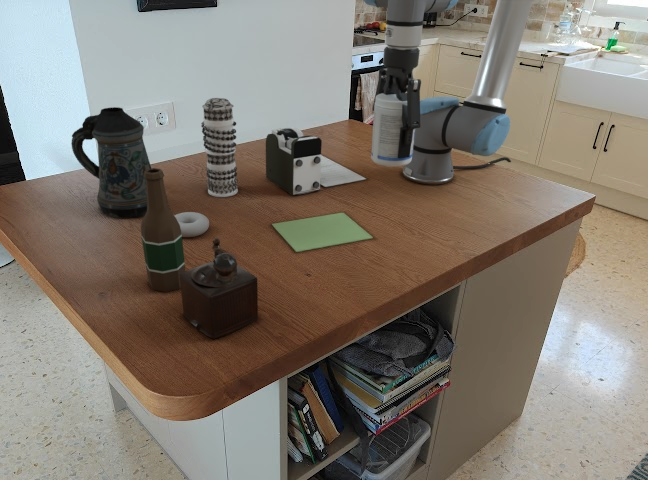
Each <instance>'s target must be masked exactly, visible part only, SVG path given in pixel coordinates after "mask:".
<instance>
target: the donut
mask: <svg viewBox="0 0 648 480" xmlns="http://www.w3.org/2000/svg"><path fill="white" fill-rule="evenodd" d="M173 215H174V216H175V217H176V219H177V221H178V223H179V225H180V228H181V233H182V238H195V237H198V236H201V235H203V234H204V233H206V231H208V230H209V227H210V221H209V219H208V217H207V216H205V215H204V214H203V213H201V212H195V211H185V212H181V213H180V212H179V213H177V214H173Z"/></svg>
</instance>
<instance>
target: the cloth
mask: <svg viewBox="0 0 648 480" xmlns="http://www.w3.org/2000/svg"><path fill="white" fill-rule="evenodd" d="M271 226H272V227H273V228H274V229H275V230H276V232H277V233H278V234H279V235H280V236H281V237H282V238H283V239H284V240H285V242H286V243H287V244H288V245H289V246H290V247H291V248H292V250H293V251H294V252H295V253H300V252H301V253H302V252H307V251H311V250H316V249H317V250H318V249H322V248H329V247H333V246H339V245H345V244H350V243H355V242H361V241H367V240H372V239H374V237H373V236H372V235H371V234H370V233H368V232H367V231H366V230H365V229H363V227H361V226H360V225H358V224H357V222H356V221H354V220H353V219H351V218H350V217H349V216H348V215H347V214H346V213H344V212H338V213H331V214H324V215H320V216H319V215H318V216H313V217H307V218H301V219H294V220H287V221H281V222H276V223H275V222H274V223H271Z"/></svg>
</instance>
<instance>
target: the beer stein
mask: <svg viewBox="0 0 648 480" xmlns="http://www.w3.org/2000/svg"><path fill="white" fill-rule="evenodd" d="M81 125H82V126H81V127H79V128H78V129H76V130H75V131H73V133H72V135H71V137H72V138H71V143H70V144H71V149H72V153H73V155H74V157H75V158H76V160H77V162H78V163H79V165H81V166H82V167H83V168H84V169H85V170H86V171H87V172H88V173H89V174H91V175H92V176H94V177H95V178H97V179H99V180H98V181H99V183H98V185H99V186H98V191H97V195H96V200H97V203H98V205H99V207H100V210H101V211H102V213H103V215H106V216H108V217H110V218H115V219H135V218H140V217H144V216H145V214H146V212H147V192H146V179H145V177H144V176H143V175H144V171H146V170H147V169H152V168H153V167H152V166H151V163H150V159H149V155H148V151H147V148H146V145H145V142H144V138H143V136H144V128H145V127H144V125H143V124H142V123H141V122H140V121H139V120H138V119H136V118H134V117H133V116H130V115H129V114H128V113H126V111H124V108H122V107H119V106H116V107H114V106H113V107H105V108H102V109H100V112H99V113H98V114H95V115H88V116H87V117H86V118H85V119H84V120H83V123H82V124H81ZM93 139H95V141H96V142H97V155H98V156H97V158H98V165H97V164H96V163H95V162H94V161H92V160H91V159H90V158H89V156H88V155H87V154H86V152H85V150H84V147H83V144H84V141H85V140H86V141H89V140H90V141H91V140H93Z"/></svg>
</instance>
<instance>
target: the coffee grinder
mask: <svg viewBox="0 0 648 480" xmlns="http://www.w3.org/2000/svg"><path fill="white" fill-rule="evenodd" d="M212 244H213V245H212V251H213V252H214V259H213V260H212V261H209V262H207V263H204V264H201V265H198V266H195V267H192V268H189V269H187V270H186V271H184V272H181V273H180V285H181V288H180V293H181V301H182V302H181V303H182V310H183V314H182V317H183V318H185V319H186V320H187V321H188V322H189V323H190V325H191V326H193V327H194V328H195V329H196V330H198V331H200V332H201V333H202V334H204V335H205V336H207V337H208V338H211V339H213V340H217V339H219V338H222V337H223V338H224V337H226V336H228V335H230V334H232V333H236V332H238V331H239V330H241V329H244V328H246V327H248V326H250V325H252V324H253V323H255V322H256V321H258V320H259V315H258V309H259V308H258V307H259V306H258V305H259V304H258V296H259V295H258V293H259V292H258V277H257V276H255V275H254V274H252V273H251V272H249V271H248V270H246V269H244V268H243V267H241V266H240V265H238V261H237V259H236V256H235V255H233V254H232V253H229V252H225V251H224V250H223V249H222V248H221V247H222V246H221V239H220V238H219V237H214V238H213V240H212Z"/></svg>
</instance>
